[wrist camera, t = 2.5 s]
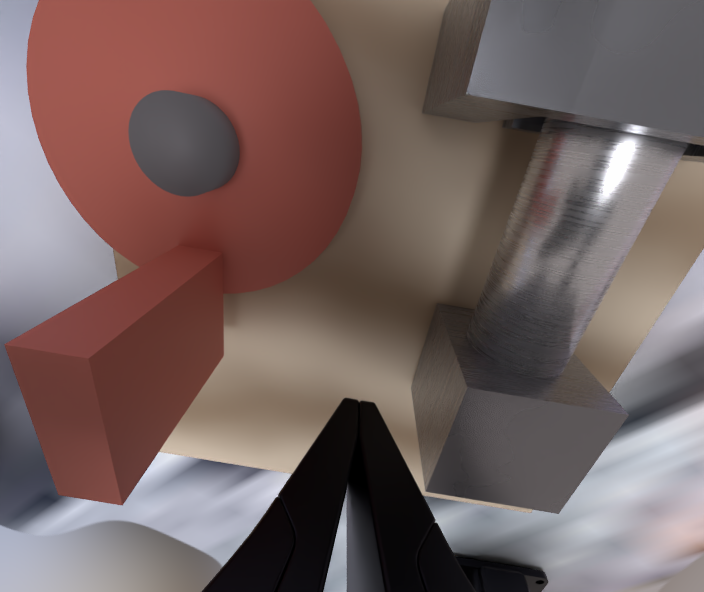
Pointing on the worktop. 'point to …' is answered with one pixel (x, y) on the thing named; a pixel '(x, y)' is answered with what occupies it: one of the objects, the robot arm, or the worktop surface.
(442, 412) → the grey rod with block
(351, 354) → the base board
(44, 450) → the handwheel
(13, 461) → the worktop surface
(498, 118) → the eye post
